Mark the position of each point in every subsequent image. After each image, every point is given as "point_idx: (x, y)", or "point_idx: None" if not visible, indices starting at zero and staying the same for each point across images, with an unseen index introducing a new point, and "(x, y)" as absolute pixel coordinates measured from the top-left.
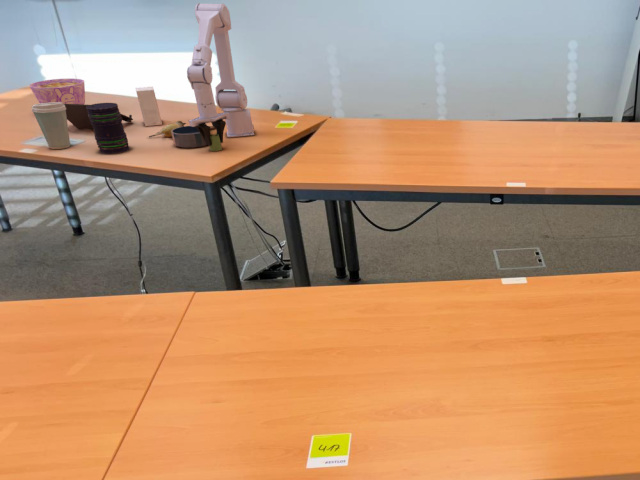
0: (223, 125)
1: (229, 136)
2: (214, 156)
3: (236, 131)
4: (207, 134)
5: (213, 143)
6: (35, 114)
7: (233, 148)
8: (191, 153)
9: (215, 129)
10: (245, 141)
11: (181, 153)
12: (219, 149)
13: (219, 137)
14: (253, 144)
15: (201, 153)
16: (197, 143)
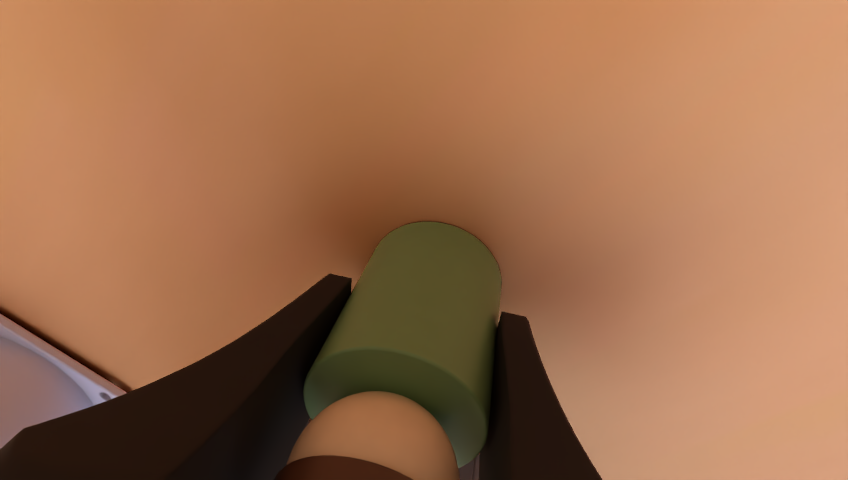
0: (109, 432)
1: (117, 395)
2: (732, 79)
3: (24, 390)
4: (573, 455)
5: (479, 310)
6: None
7: (284, 138)
8: (662, 402)
9: (337, 459)
10: (58, 215)
11: (689, 467)
12: (440, 227)
13: (338, 327)
14: (21, 39)
15: (630, 323)
16: (464, 473)
